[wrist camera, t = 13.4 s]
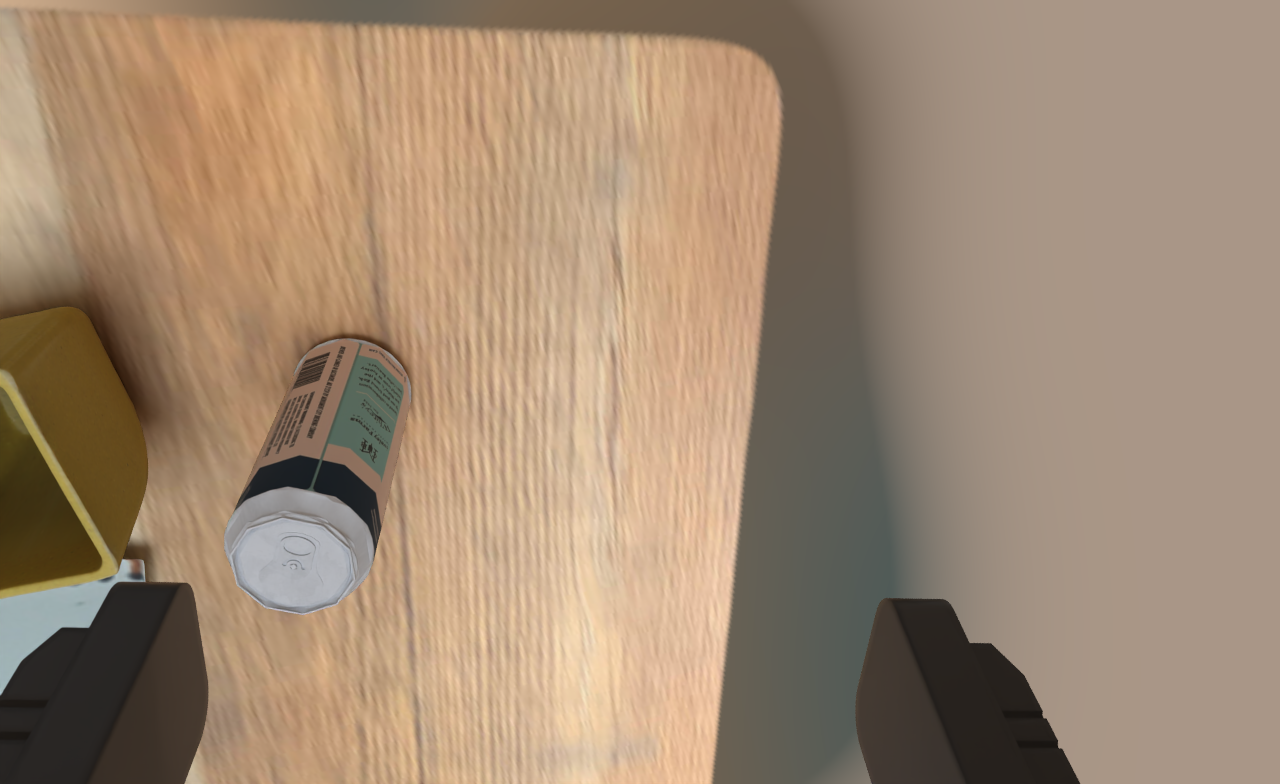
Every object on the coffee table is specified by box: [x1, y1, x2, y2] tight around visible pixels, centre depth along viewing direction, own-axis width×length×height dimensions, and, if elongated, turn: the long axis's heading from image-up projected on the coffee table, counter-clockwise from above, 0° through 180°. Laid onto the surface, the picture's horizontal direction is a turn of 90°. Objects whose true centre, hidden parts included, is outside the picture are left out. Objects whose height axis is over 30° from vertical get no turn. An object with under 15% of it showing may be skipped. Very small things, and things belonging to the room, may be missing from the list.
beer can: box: [224, 339, 411, 615], centre depth 40 cm, size 5×5×12 cm
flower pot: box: [0, 307, 148, 599], centre depth 40 cm, size 9×9×9 cm
